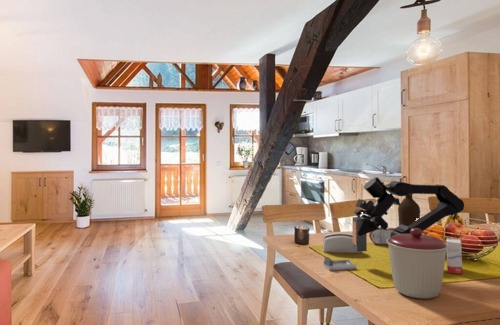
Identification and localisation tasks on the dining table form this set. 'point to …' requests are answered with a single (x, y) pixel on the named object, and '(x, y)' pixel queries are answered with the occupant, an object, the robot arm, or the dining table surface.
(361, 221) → the block
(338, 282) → the dining table surface
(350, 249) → the white slotted device
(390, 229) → the tin
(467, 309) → the dining table surface
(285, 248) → the dining table surface
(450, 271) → the ink box
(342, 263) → the grey rectangular piece
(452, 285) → the dining table surface
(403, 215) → the olive oil
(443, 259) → the canister
